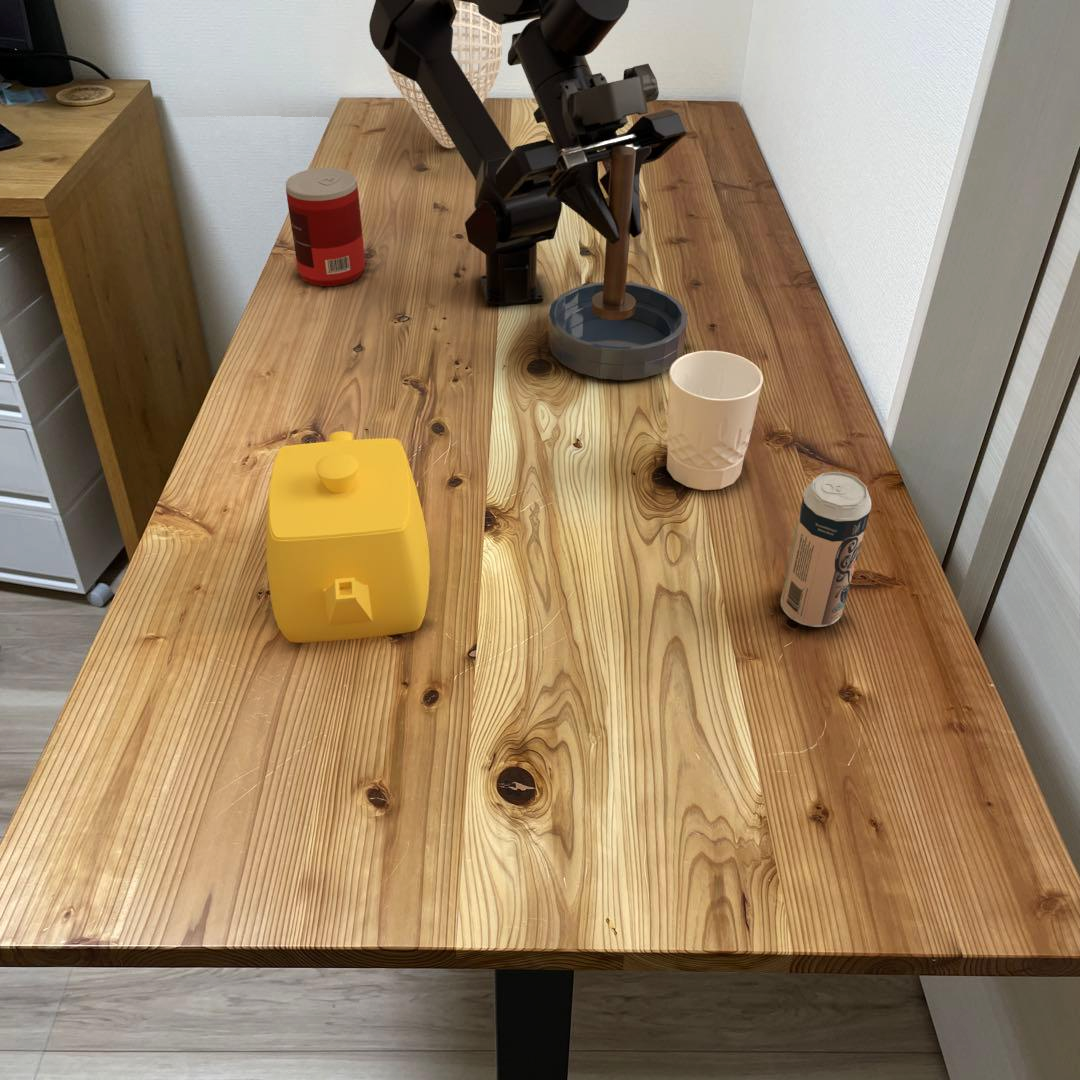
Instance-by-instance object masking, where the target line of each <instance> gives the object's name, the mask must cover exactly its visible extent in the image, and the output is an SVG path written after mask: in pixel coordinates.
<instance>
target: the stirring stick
mask: <svg viewBox="0 0 1080 1080" xmlns="http://www.w3.org/2000/svg"><path fill="white" fill-rule="evenodd" d="M635 157H636V150H635V149H634V148H632V147H629V146H616V147H614V148H612V150H611V166H610V183H609V197H608V202H607V204H608V207H609V209H610V212H611V214H612V216H613V219H614V221H615V224H616V227H617V230H618V234H619V237H620V239H619V241H618V242H616V243H615V244H611V243H610V242H609V241H608V240H607V239H606V238H605V250H604V251H605V254H604V270H603V282H604V285H603V291H602V292H599V293H597V294H595V295H594V296H593V297H592V300H591V311H592V312H593V314H594V315H596V316H597V317H599V318H602V319H606V320H624V319H627V318H629V317H631V316H632V315H633V314H634V313H635V307H636V300H635V298H634V297H633V296H632V295H630V294H628V293H626V283H627V277H628V265H629V264H628V263H629V251H630V250H629V249H630V237H631V234H630V225H631V211H632V198H633V184H634V171H635Z"/></svg>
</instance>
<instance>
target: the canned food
mask: <svg viewBox="0 0 1080 1080" xmlns="http://www.w3.org/2000/svg"><path fill="white" fill-rule="evenodd" d="M285 192H286V193H285V194H286V201H287V207H288V214H289V220H290V227H291V233H292V234H291V235H292V240H293V245H294V246H293V247H294V253H295V260H296V265H297V270H298V273H299V275H300V277H301V279H303V281H305V282H306V283H308V284H310V285H313V286H318V287H337V286H343V285H345V284H346V285H347V284H349V283H352V282H354V281H356V280H357V279H358V278H360V277H361V276H362V275H363V274H364V271H365V268H366V256H365V246H364V245H365V244H364V235H363V225H362V216H361V214H362V213H361V205H360V195H359V187H358V181H357V177H356V175H355V174H353V172H351V171H349V170H347V169H342V168H336V167H317V168H310V169H306V170H302V171H299V172H297V173H295V174H293V175H290V177H289V178H288V179H286V181H285Z"/></svg>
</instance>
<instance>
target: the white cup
mask: <svg viewBox="0 0 1080 1080" xmlns="http://www.w3.org/2000/svg"><path fill="white" fill-rule="evenodd" d="M763 381H764V375H763V373H762V371H761V369H760V368H759V367H758V366H757V365H756V364H755V363H754V362H752V361H751V360H749V359H747V358H745V357H743V356H741V355H740V354H739V355H738V354H735V353H731V352H728V351H727V352H726V351H723V350H699V351H693V352H689V353H687V354H683V355H682V356H681V357H680V358H678V359H677V360H676V361H674V363H673V364H672V365H671V367H670V368H669V374H668V392H667V393H668V395H667V408H666V409H667V410H666V419H667V421H666V440H665V441H666V444H667V452H666V456H667V457H666V471H667V472H668V473H669V474H670V476H671V477H672V479H673V480H674V481H676V482H677V483H679V484H681V485H683V486H685V487H687V488H690V489H695V490H701V491H716V490H722V489H724V488H726V487H728V486H731V485H734V483H735V482H736V481H737V480H738V479H739V477H740V476H741V474H742V470H743V465H744V460H745V455H746V452H747V449H748V446H749V443H750V439H751V434H752V432H753V427H754V424H755V419H756V413H757V409H758V405H759V401H760V396H761V391H762V387H763V383H764V382H763Z"/></svg>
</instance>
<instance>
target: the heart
mask: <svg viewBox="0 0 1080 1080" xmlns="http://www.w3.org/2000/svg"><path fill="white" fill-rule="evenodd" d="M453 1H454V4H455V5H456V6H455V7H456V10H457V14H456V16H455V19H454V21H453V24H452V27H456V30H457V32H453V37H457V38H456V39H457V40H452V45H455V46H456V45H457V47H455V46H454V47H453V46H452V52H457V59H455V60H456V61H457V63H458V64H459V66H460V68H461V69H462V70H463V65H464V71H463V73H464V74H465V76H466V77H467V79H468V81H469V82H470V84H471V85H472V87H473V89H474V90H475V92H476V94H477V95H478V97H479V98H480V100H481V102H482V103H483V104H484V102H485V100H486V99H487V97H488V95H489V94H490V92H491V91H492V88H493V87H494V84H495V82H496V80H497V77H498V75H499V72H500V69H501V65H502V58H503V42H502V31H503V24H502V25H499V24H496V23H495V22H493V21H491V20H489V19H488V18H486V17H484V16H482V15H481V14H480V13H479V12H476V11H477V10H478V6H477V5H476V4H474V3H469V2H464V1H458V0H453ZM462 6H464V8H463V7H462ZM468 7H469V9H468ZM462 14H464V17H463V16H462ZM468 15H469V16H468ZM477 18H478V19H479V20H478V19H477ZM476 24H477V25H476ZM485 27H486V28H485ZM462 28H464V32H463V31H462ZM476 31H478V34H476ZM483 33H485V34H486V36H485V35H483ZM463 37H464V40H462V38H463ZM476 39H478V42H477V41H476ZM483 40H485V43H483ZM463 46H464V47H463ZM483 51H485V56H483V55H482V52H483ZM463 52H464V53H465V54H464V59H463ZM475 52H478V58H477V59H476V57H475V56H476V55H475V54H476V53H475ZM384 61H385V64H386V68H387V71H388V73H389V75H390V77H391V80H392V82H393V83H394V85H395V87H396V88H397V90H398V91H399V92H400V94H401V95H402V97H403V98H404V99H405V100H406V101H407V103H408V104H409V105H410V107H412V109H413V110H414V112H415V113H416V114H417V116H418V117H419V118H420V120H421V121H422V123H423V125H425V126H426V128H427V129H428V131H429V132H430V133H431V135H432V137H433V138H434V139H435V140H436V142H437V143H438V144H439V145H440V146H442V147H443V148H446V149H454V148H456V146H455V145H454V143H453V142H452V140H451V138H450V137H449V135H448V133H447V132H446V130H445V128H444V127H443V125H442V123H441V122H440V120H439V118H438V117H437V115H436V113H435V112H434V110H433V108H432V107H431V105H430V103H429V102H428V100H427V99H426V97H425V95H424V94H423V92H422V90H421V89H420V88H418V84H417V83H416V82H415V81H413V80H411V79H409V78H407V77H406V76H404V75H402V74H400V73H398V72H396V71H394V70H393V69H392V68H391V67H390V66H389V64H388V63H387V62H386V60H385V59H384ZM475 64H476V65H477V69H475ZM482 64H483V65H482ZM484 69H485V71H484V72H483V70H484ZM482 72H483V73H482ZM474 85H476V86H475V87H474Z"/></svg>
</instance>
